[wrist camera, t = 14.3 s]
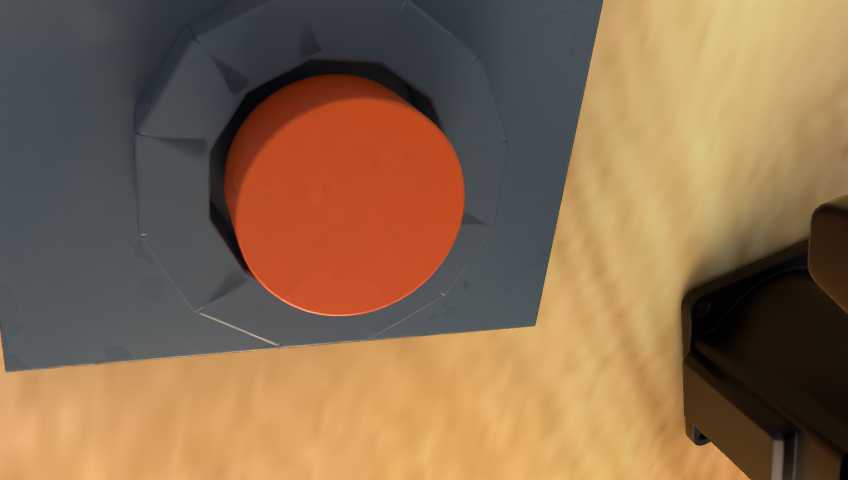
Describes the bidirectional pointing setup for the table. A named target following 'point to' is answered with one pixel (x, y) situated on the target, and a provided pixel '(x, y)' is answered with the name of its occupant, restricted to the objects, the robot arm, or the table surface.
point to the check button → (342, 195)
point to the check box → (208, 148)
